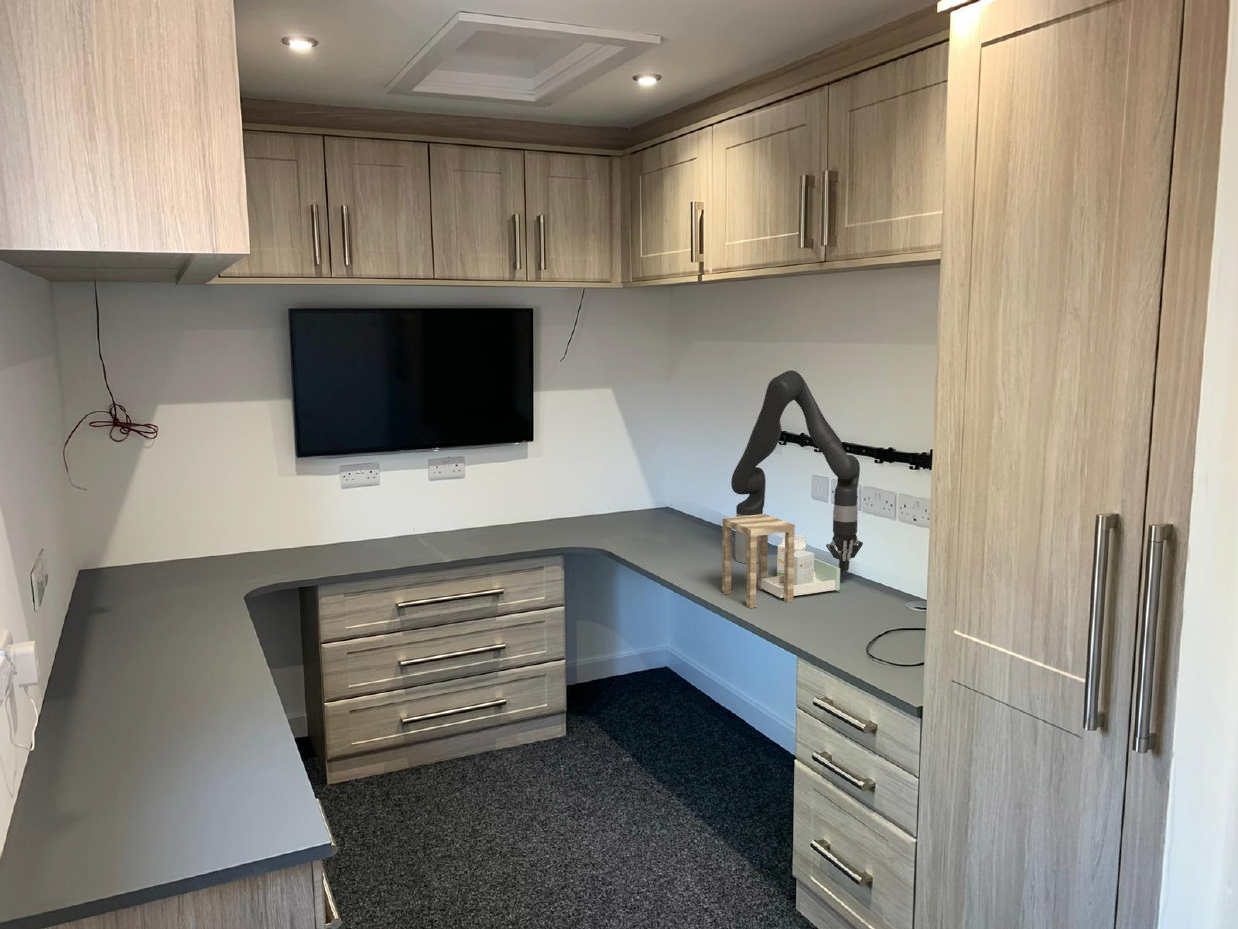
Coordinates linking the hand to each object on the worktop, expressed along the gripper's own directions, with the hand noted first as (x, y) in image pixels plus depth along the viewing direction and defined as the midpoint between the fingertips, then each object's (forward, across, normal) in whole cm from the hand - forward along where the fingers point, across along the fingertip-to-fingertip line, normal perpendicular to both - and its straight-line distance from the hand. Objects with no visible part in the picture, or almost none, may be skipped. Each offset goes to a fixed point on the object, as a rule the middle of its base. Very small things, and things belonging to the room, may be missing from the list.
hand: (843, 571), depth 297 cm
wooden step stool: (+5, -32, 0) cm, 32 cm away
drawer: (+4, -17, 0) cm, 17 cm away
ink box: (+5, -12, +12) cm, 18 cm away
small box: (+3, -17, 0) cm, 17 cm away
